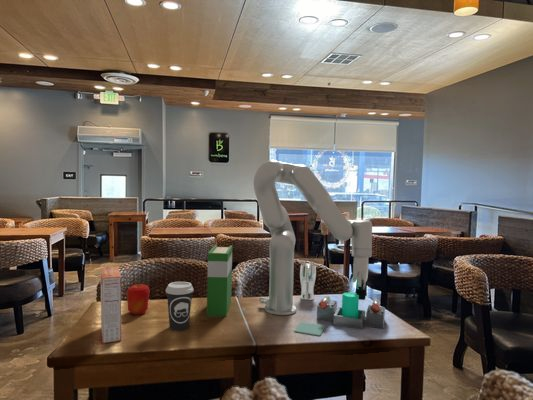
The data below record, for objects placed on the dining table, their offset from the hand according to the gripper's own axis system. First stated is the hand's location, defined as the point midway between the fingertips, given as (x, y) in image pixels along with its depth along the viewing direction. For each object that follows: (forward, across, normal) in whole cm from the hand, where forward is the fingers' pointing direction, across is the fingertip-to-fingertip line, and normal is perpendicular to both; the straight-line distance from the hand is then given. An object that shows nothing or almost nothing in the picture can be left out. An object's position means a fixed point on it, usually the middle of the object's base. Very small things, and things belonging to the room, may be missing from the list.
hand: (361, 298), depth 149 cm
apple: (+5, +32, -80) cm, 86 cm away
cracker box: (+5, +52, -74) cm, 91 cm away
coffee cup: (+5, +38, -57) cm, 69 cm away
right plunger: (+2, +6, +6) cm, 9 cm away
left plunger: (+1, +10, -12) cm, 16 cm away
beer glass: (+6, -13, -25) cm, 29 cm away
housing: (+7, +7, -3) cm, 10 cm away
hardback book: (+6, +15, -54) cm, 56 cm away
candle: (+7, +9, -3) cm, 11 cm away
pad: (+6, +21, -15) cm, 27 cm away
